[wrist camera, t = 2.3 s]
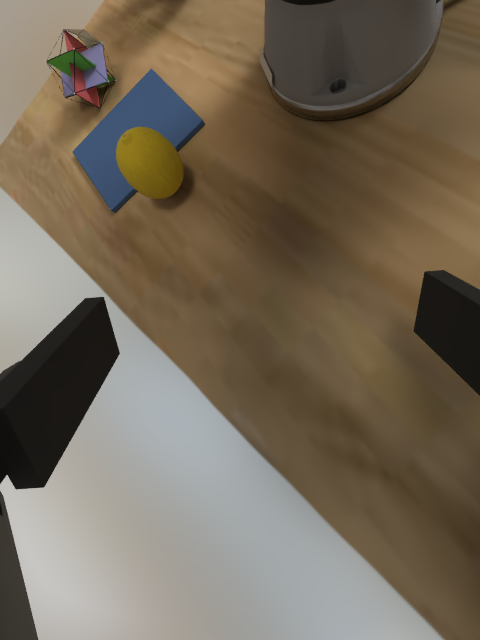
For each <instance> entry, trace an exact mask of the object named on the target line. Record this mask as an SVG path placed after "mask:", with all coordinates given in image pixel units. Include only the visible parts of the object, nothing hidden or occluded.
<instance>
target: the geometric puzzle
mask: <svg viewBox="0 0 480 640" xmlns="http://www.w3.org/2000/svg"><path fill="white" fill-rule="evenodd" d="M65 30H66V31H65ZM63 31H64V34H65V40H66V46H67V52H66V53H63V54H61V55H59V56H57V57H54V58H52V59H50V60H47V61H46V62H47V63H50V64H51V65H53V66H54V67H56V68H57V69H59V70H60V71H61V77H62V78H61V77H60V76H59V75H58V76H59V77H60V78H61V79H62V83H63V89H64V94H65V98H67V99H68V97H71V96H74V95H78V96H80V97H81V98H83V99H85V100H86V101H88V102H90V103H91V104H93V105H95V106H97V108H99V109H101V106H100V104H99V98H98V91H97V88H98V87H100V86H103V85H106V84H107V85H108V83H111V82H114V81H116V79H115V78H114V77H113V76H112V75H111V74H110V75H111V76H112V77H113V78H114V79H113V78H112V77H111V76H109V75H108V74H107V71H108V70H107V69H106V63H105V57H104V50H105V49H104V50H103V47H104V46H103V42H100V41H99V40H97V39H96V38H94V37H93V36H92V35H91V34H90V33H88V32H86V31H85V30H67V29H63ZM67 31H68V32H71V33H73V34H75V35H77V36H78V37H79V38H80V39H81V40H82V41H83V42H84V44H85V45H86V46H84V45H83V44H82V43H81V42H79V41H78V40H77V39H76V38H74V37H73V36H72V35H70V34H69V33H68V32H67ZM62 39H63V38H62ZM98 43H99V45H97V44H98ZM87 47H88V48H89V49H88V48H87ZM107 58H108V57H107ZM108 61H109V60H108ZM50 67H51V66H50ZM111 69H112V68H111ZM53 70H54V69H53ZM54 71H55V70H54ZM55 72H56V71H55ZM108 72H109V71H108ZM112 72H113V71H112ZM56 73H57V72H56ZM52 74H53V73H52ZM114 83H115V82H114ZM106 88H107V86H106ZM111 88H112V87H111ZM60 89H61V88H60ZM110 90H111V89H110ZM61 91H62V90H61ZM105 91H106V89H105ZM109 92H110V91H109ZM62 93H63V92H62ZM64 94H63V95H64ZM108 94H109V93H108ZM104 95H105V92H104ZM103 98H104V96H103ZM105 99H106V98H105ZM71 100H72V99H71ZM74 101H75V100H74ZM102 101H103V99H102ZM104 101H105V100H104ZM77 102H78V101H77ZM80 103H81V102H80ZM103 103H104V102H103ZM84 104H85V103H84ZM87 105H88V104H87ZM101 105H102V103H101ZM90 106H91V105H90ZM93 107H94V106H93Z"/></svg>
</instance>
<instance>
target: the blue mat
mask: <svg viewBox="0 0 480 640" xmlns="http://www.w3.org/2000/svg"><path fill="white" fill-rule="evenodd" d="M204 125H205V123H204V122H203V120H202V119H201V118H200V117H199V116H198V115H197V114H196V113H195V112H194V111H193V110H192V109H191V108H190V107H189V106H188V105H187V104H186V103H185V102H184V101H183V100H182V99H181V98H180V97H179V96H178V95H177V94H176V93H175V92H174V91H173V90H172V89H171V88H170V87H169V86H168V85H167V84H166V83H165V82H164V81H163V80H162V79H161V78H160V77H159V76H158V75H157V74H156V73H155V72H154V71H153V70H152V69H150V71H149V72H148V73H147V74H146V75H145V76H144V77H143V78H142V79H141V80H140V81H139V82H138V83H137V84H136V85H135V86H134V87H133V88H132V89H131V91H130V92H129V93H128V94H127V95H126V96H125V97H124V98H123V99H122V100H121V101H120V102H119V103H118V104H117V105H116V106H115V107H114V108H113V110H112V111H111V112H110V113H109V114H108V115H107V116H106V117H105V118H104V119H103V120H102V121H101V122H100V123H99V124H98V125H97V126H96V127H95V128H94V130H93V131H92V132H91V133H90V134H89V135H88V136H87V137H86V138H85V139H84V140H83V141H82V142H81V143H80V144H79V145H78V146H77V147H76V148H75V150H74V151H73V154H74V155H75V157H76V158H77V160H78V161H79V163H80V164H81V166H82V167H83V169H84V170H85V172H86V173H87V175H88V176H89V178H90V179H91V181H92V182H93V184H94V185H95V187H96V188H97V190H98V191H99V193H100V194H101V196H102V197H103V199H104V200H105V202H106V203H107V205H108V206H109V208H110V209H111V211H113V212H114V213H115V212H116V211H117V210H118V209H119V208H120V207H121V206H122V205H123V204H124V203H126V202H127V201H128V200H129V199H130V198H131V197H132V196H133V195H134V194H135V193H136V192H137V190H135V189H134V188H133V187H132V186H131V185H130V184H129V183H128V181H127V180H126V179H125V177H124V176H123V174H122V173H121V171H120V169H119V167H118V164H117V160H116V148H117V144H118V141H119V139H120V138H121V136H122V135H123V134H124V133H125V132H126V131H128V130H129V129H131V128H135V127H147V128H151V129H153V130H155V131H157V132H159V133H160V134H161V135H163V136H164V137H165V138H166V139H167V140H169V141H170V142H171V144H172V145H173V146H174V147H175V149H176V151H178V150H179V149H180V148H181V147H182V146H183V145H184V144H185V143H186V142H187V141H188V140H190V139H191V138H192V137H193V136H194V135H195V134H196V133H197V132H198V131H199V130H200V129H201V128H202V127H203V126H204Z"/></svg>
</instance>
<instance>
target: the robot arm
mask: <svg viewBox="0 0 480 640" xmlns="http://www.w3.org/2000/svg"><path fill="white" fill-rule="evenodd" d="M442 16H443V0H265V44H264V56H263V54H262V51H261V49H260V63H261V65H262V68H263V70H264V72H265V74H266V77H267V79H268V81H269V84H270V87H271V90H272V92H273V94H274V96H275V98H276V99H277V100H278V102H279V103H280V104H281V105H282V106H283V107H284V108H286V109H287V110H288V111H290V112H292V113H294V114H296V115H298V116H301V117H304V118H308V119H314V120H335V119H342V118H348V117H351V116H355V115H358V114H361V113H364V112H367V111H369V110H371V109H374V108H376V107H378V106H379V105H381V104H383V103H385V102H387V101H388V100H390V99H391V98H393V97H394V96H396V95H397V94H398V93H400V92H401V91H402V90H403V89H404V88H406V87H407V86H408V85H409V84H410V83H411V82H412V81H413V80H414V79H415V78H416V77H417V76H418V74H419V73H420V72H421V71H422V69H423V68H424V67H425V65H426V64H427V62H428V60H429V59H430V57H431V55H432V53H433V51H434V48H435V46H436V43H437V39H438V35H439V30H440V25H441V21H442ZM414 332H415V333H416V334H417V335H418V336H419V337H420V338H421V339H422V340H423V341H424V342H425V343H426V344H427V345H428V346H429V347H430V348H431V349H432V350H433V351H434V352H436V353H437V354H438V355H439V356H440V357H441V358H442V359H443V360H444V361H445V362H446V363H447V364H448V365H449V366H450V367H451V368H452V369H453V370H454V371H455V372H456V373H457V374H458V375H459V376H460V377H461V378H462V379H463V380H464V381H465V382H466V383H467V384H468V385H469V386H470V387H472V388H473V389H474V390H475V391H476V392H477V393H478V394H479V395H480V290H479V289H477V288H475V287H474V286H472V285H470V284H468V283H466V282H464V281H463V280H461V279H459V278H457V277H455V276H453V275H452V274H450V273H448V272H446V271H444V270H440V271H427V272H424V278H423V283H422V289H421V294H420V299H419V305H418V310H417V316H416V321H415V326H414ZM119 354H120V353H119V349H118V346H117V342H116V339H115V335H114V332H113V328H112V325H111V321H110V318H109V314H108V310H107V307H106V304H105V300H104V297H96V298H85V299H84V300H83V301H82V302H81V303H80V304H79V305H78V306H77V307H76V308H75V309H74V310H73V311H72V312H71V313H70V314H69V315H68V316H67V317H66V318H65V319H64V320H63V321H62V322H61V323H60V324H58V325H57V326H56V327H55V328H54V329H53V330H52V331H51V332H50V333H49V334H48V335H47V336H46V337H45V338H44V339H43V340H42V341H41V342H40V343H39V344H38V345H37V346H36V347H35V348H34V349H33V350H32V351H31V352H30V353H29V354H28V355H27V356H26V357H25V358H24V359H23V360H22V361H19V362H17V363H15V364H14V365H12V366H11V367H9V368H7V369H6V370H4V371H3V372H2V373H1V374H0V483H1V482H2V481H3V479H4V478H5V476H6V475H8V476H9V478H10V480H11V482H12V483H13V485H14V487H15V489H27V488H41V487H44V486H45V485H46V483H47V481H48V479H49V478H50V476H51V474H52V472H53V471H54V469H55V467H56V465H57V464H58V461H59V460H60V458H61V457H62V455H63V453H64V451H65V449H66V448H67V446H68V444H69V442H70V441H71V439H72V437H73V435H74V434H75V432H76V430H77V428H78V426H79V425H80V423H81V421H82V419H83V418H84V416H85V414H86V412H87V411H88V409H89V407H90V405H91V403H92V402H93V400H94V398H95V396H96V394H97V393H98V391H99V389H100V388H101V386H102V384H103V382H104V381H105V379H106V377H107V375H108V373H109V372H110V370H111V368H112V366H113V365H114V363H115V361H116V359H117V357H118V355H119ZM0 640H38V637H37V632H36V628H35V624H34V620H33V616H32V612H31V608H30V604H29V600H28V596H27V592H26V587H25V583H24V579H23V575H22V571H21V567H20V563H19V559H18V555H17V551H16V547H15V543H14V538H13V535H12V530H11V526H10V522H9V518H8V514H7V510H6V506H5V502H4V497H3V495H2V493H1V492H0Z"/></svg>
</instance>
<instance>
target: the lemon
mask: <svg viewBox="0 0 480 640" xmlns="http://www.w3.org/2000/svg"><path fill="white" fill-rule="evenodd" d="M116 160H117V164H118V167H119V169H120V171H121V173H122V174H123V176H124V177H125V179H126V180H127V181H128V183H129V184H130V185H131V186H132V187H133V188H134V189H135V190H137V191H138V192H140V193H141V194H143V195H145V196H147V197H150V198H154V199H163V198H167V197H169V196H171V195H173V194H174V193H175V192H176V191H177V190H178V189H179V187H180V185H181V183H182V180H183V173H184V170H183V164H182V160H181V158H180V156H179V154H178V152H177V151H176V149H175V147H174V146H173V145H172V144H171V142H170V141H169V140H167V139H166V138H165V137H164V136H163V135H161V134H160V133H159V132H157V131H155V130H153V129H151V128H147V127H135V128H131V129H129V130H128V131H126V132H125V133H124V134H123V135H122V136H121V138H120V139H119V141H118V144H117V148H116Z"/></svg>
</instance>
